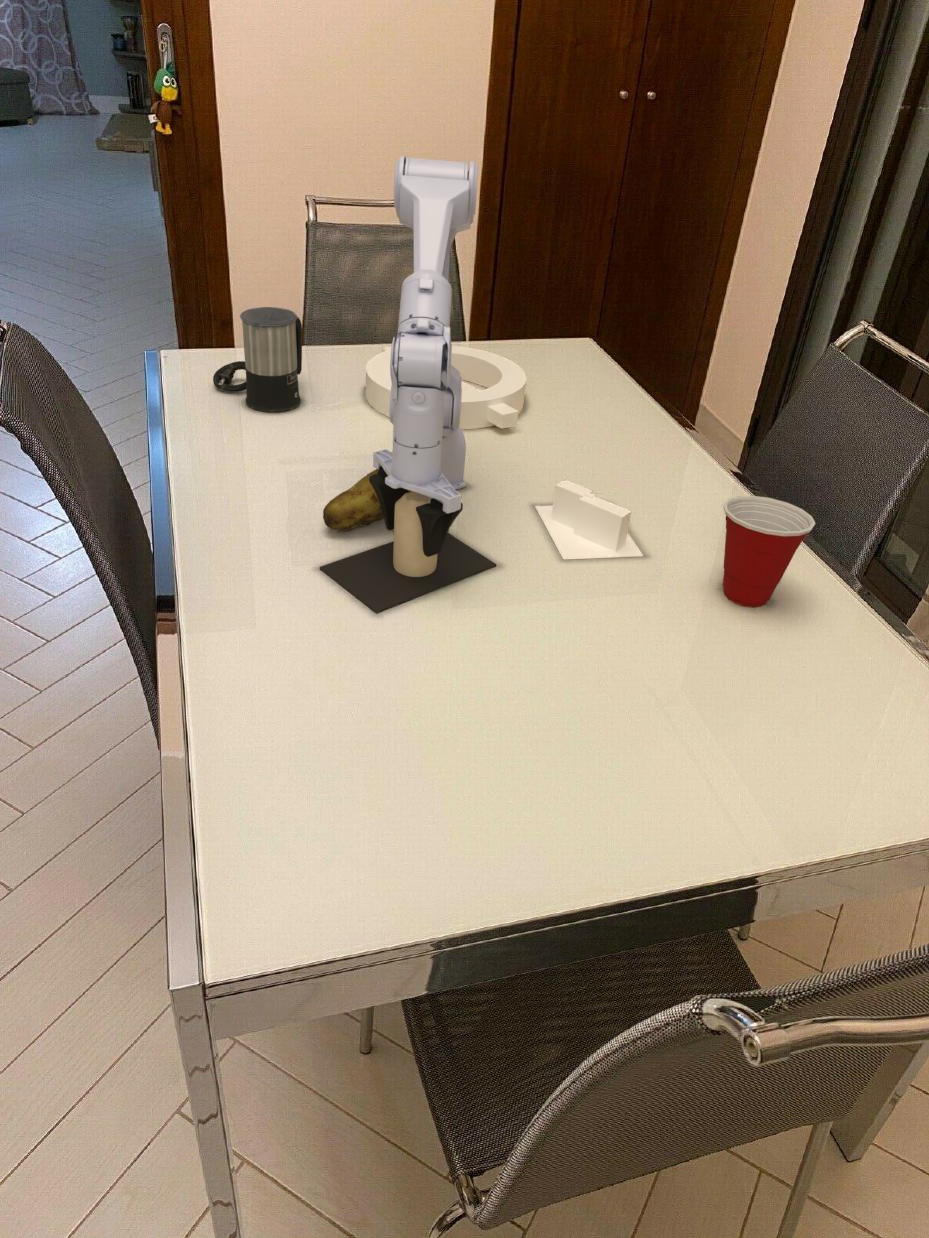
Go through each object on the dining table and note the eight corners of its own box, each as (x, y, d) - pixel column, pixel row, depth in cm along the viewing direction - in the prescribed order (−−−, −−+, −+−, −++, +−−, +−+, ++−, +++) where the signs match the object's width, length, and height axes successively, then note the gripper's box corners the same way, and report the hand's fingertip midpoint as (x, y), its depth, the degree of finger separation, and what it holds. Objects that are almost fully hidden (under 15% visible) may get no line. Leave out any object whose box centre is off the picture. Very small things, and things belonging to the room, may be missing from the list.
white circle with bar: (383, 362, 179) (384, 337, 177) (529, 379, 177) (532, 354, 175) (349, 418, 156) (349, 390, 154) (515, 438, 154) (518, 410, 152)
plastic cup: (791, 583, 122) (817, 501, 115) (787, 627, 114) (815, 540, 107) (707, 564, 125) (728, 483, 118) (697, 605, 116) (719, 520, 109)
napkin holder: (645, 556, 125) (652, 518, 122) (563, 560, 123) (569, 521, 120) (608, 503, 137) (614, 467, 134) (533, 506, 135) (538, 469, 132)
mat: (437, 527, 128) (437, 525, 128) (496, 566, 121) (496, 564, 120) (319, 568, 117) (319, 566, 117) (376, 613, 110) (376, 611, 110)
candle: (431, 580, 116) (435, 509, 110) (387, 573, 117) (389, 501, 111) (440, 558, 120) (445, 488, 115) (399, 551, 121) (401, 481, 115)
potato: (318, 510, 129) (317, 457, 125) (411, 507, 132) (413, 454, 128) (324, 541, 123) (324, 485, 118) (421, 536, 125) (424, 482, 121)
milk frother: (296, 415, 156) (293, 326, 147) (200, 408, 155) (191, 318, 147) (308, 384, 167) (306, 300, 159) (219, 378, 167) (212, 293, 158)
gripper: (352, 423, 111) (352, 525, 118) (429, 469, 102) (424, 576, 110) (400, 411, 114) (397, 510, 122) (478, 455, 106) (469, 558, 114)
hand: (412, 540), depth 116 cm, fingers open, 7 cm apart
